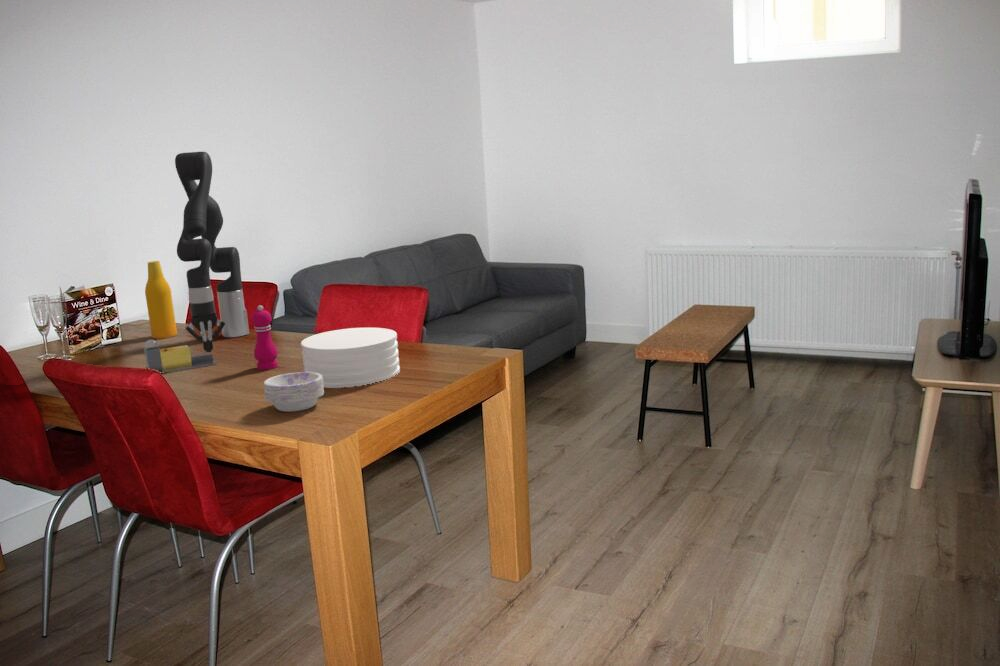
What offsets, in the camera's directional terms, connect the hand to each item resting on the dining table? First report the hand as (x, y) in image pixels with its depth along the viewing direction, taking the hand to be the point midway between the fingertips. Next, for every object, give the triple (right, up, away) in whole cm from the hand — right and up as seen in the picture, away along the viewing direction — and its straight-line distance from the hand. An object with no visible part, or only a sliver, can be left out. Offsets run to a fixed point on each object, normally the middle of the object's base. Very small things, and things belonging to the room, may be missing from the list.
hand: (208, 351), depth 281 cm
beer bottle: (-33, +5, +47) cm, 57 cm away
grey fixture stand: (-8, -5, -4) cm, 10 cm away
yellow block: (-9, -4, -4) cm, 11 cm away
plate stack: (+53, -7, -27) cm, 60 cm away
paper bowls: (+43, -14, -57) cm, 72 cm away
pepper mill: (+23, -5, -12) cm, 27 cm away
